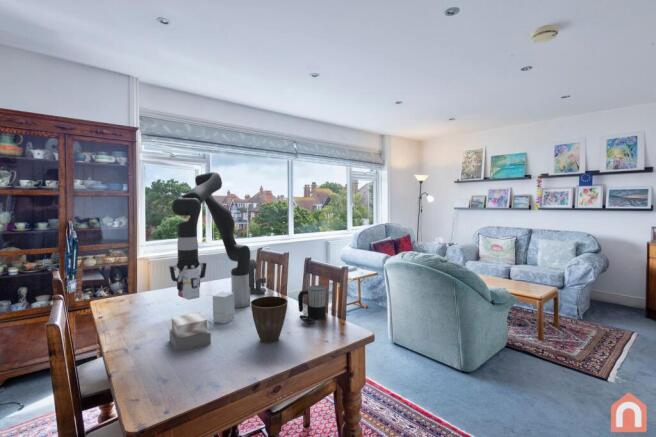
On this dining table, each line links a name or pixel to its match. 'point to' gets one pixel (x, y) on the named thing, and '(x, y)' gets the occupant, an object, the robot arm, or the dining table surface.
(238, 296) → the robot arm
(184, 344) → the tower base block
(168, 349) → the dining table surface
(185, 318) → the tower top block
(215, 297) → the supplement box
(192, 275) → the ink box
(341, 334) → the dining table surface
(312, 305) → the milk frother
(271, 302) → the plant pot
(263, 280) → the faucet
